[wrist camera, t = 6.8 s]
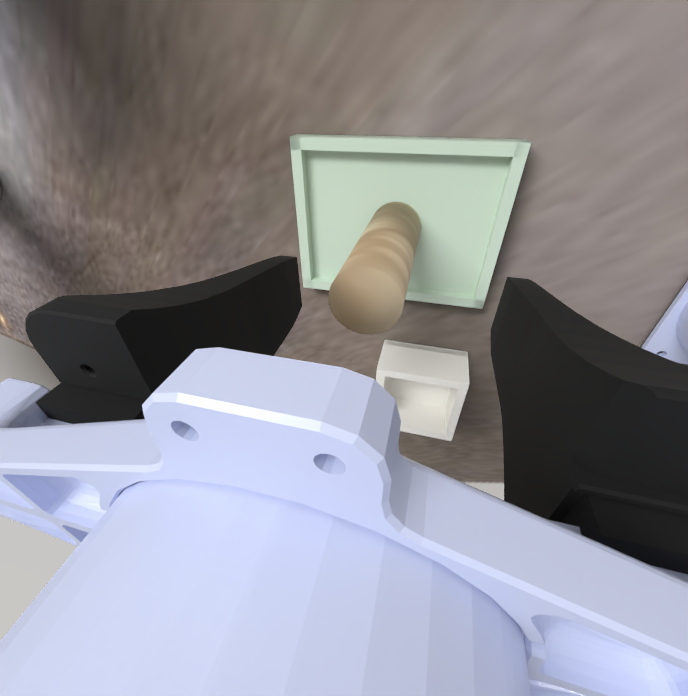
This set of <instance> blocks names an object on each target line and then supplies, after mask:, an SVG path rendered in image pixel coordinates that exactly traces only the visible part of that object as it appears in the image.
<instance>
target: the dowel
mask: <svg viewBox="0 0 688 696" xmlns="http://www.w3.org/2000/svg"><path fill="white" fill-rule="evenodd" d="M420 231H421V222H420V218H419V216H418V214H417V212H416V211H415V210H414V209H413V208H412V207H411V206H409V205H408V204H406V203H403V202H389V203H387V204H384V205H383V206H381V207H380V208H379V209H378V210H377V211H376V212H375V214H374V215H373V217H372V219H371V220H370V222H369V224H368V225H367V227H366V229H365V230H364V232H363V233H362V235H361V237H360V238H359V240H358V242H357V243H356V245H355V247H354V248H353V250H352V251H351V253H350V255H349V256H348V258H347V260H346V261H345V263H344V265H343V266H342V268H341V269H340V271H339V273H338V274H337V276H336V278H335V279H334V281H333V283H332V284H331V287H330V290H329V295H328V300H329V306H330V309H331V311H332V313H333V315H334V316H335V318H336V319H337V320H338V321H339V322H340V323H341V324H342V325H343V326H345V327H346V328H348V329H350V330H352V331H354V332H357V333H361V334H378V333H382V332H384V331H387V330H388V329H390V328H391V327H393V326H394V325H395V324H396V323H397V322H398V320H399V318H400V316H401V314H402V311H403V306H404V302H405V297H406V293H407V289H408V284H409V280H410V275H411V271H412V267H413V262H414V258H415V253H416V249H417V245H418V240H419V236H420Z"/></svg>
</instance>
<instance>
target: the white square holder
mask: <svg viewBox="0 0 688 696" xmlns="http://www.w3.org/2000/svg"><path fill="white" fill-rule="evenodd" d="M376 381H377V382H378V383H379V384H380V385H381V386H382V387H383V388H384V389H385V390H386V391H387V392H388V393H389V394H390V395H391V396H392V397H393V398H395V399H396V403H397V407H398V411H399V415H400V419H401V425H400V431H403V432H408V433H413V434H418V435H423V436H428V437H433V438H438V439H443V440H448V441H452V437H453V434H454V431H455V428H456V425H457V422H458V419H459V415H460V412H461V409H462V406H463V403H464V400H465V397H466V393H467V390H468V387H469V365H468V352H466V351H460V350H453V349H446V348H439V347H432V346H426V345H419V344H412V343H405V342H398V341H392V340H385V341H384V344H383V348H382V352H381V355H380V359H379V363H378V366H377V374H376Z"/></svg>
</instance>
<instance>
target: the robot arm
mask: <svg viewBox="0 0 688 696" xmlns="http://www.w3.org/2000/svg"><path fill="white" fill-rule="evenodd" d="M301 307H302V301H301V292H300V283H299V273H298V264H297V257H290V256H277V257H273V258H269V259H266V260H263V261H260V262H258V263H255V264H252V265H249V266H247V267H244V268H241V269H238V270H235V271H232V272H229V273H226V274H223V275H220V276H217V277H214V278H211V279H208V280H204V281H200V282H196V283H192V284H188V285H183V286H178V287H172V288H166V289H160V290H154V291H146V292H137V293H126V294H111V295H78V296H61V297H58V298H56V299H54V300H52V301H50V302H48V303H47V304H45V305H43V306H41V307H39V308H37V309H35V310H34V311H32V312H30V313H29V314H28V316H27V317H26V332H27V335H28V337H29V340H30V341H31V343H32V344H33V346H34V348H35V349H36V350H37V352H38V353H39V354H40V356H41V357H42V358H43V360H44V361H45V362H46V364H47V365H48V366H49V368H50V369H51V370H52V372H53V373H54V374H55V376H56V377H57V378H58V379H59V381H60V382H62V383H60V384H59V385H58V386H56V387H55V388H54V389H53V390H51V391H50V390H49V389H48V388H46V387H45V386H43V385H40V384H36V383H32V382H28V381H23V380H19V379H14V378H7V379H6V380H4V381H3V382H1V383H0V516H3V517H6V518H8V519H11V520H13V521H16V522H19V523H21V524H24V525H26V526H29V527H31V528H34V529H36V530H39V531H41V532H43V533H46V534H48V535H51V536H53V537H55V538H58V539H60V540H62V541H65V542H67V543H69V544H72V545H74V546H76V547H77V548H76V549H75V551H74V552H73V553H72V554H71V555H70V557H69V558H68V559H67V560H66V561H65V563H64V564H63V565H62V566H61V568H60V569H59V570H58V571H57V573H56V574H55V575H54V576H53V577H52V579H51V580H50V581H49V582H48V583H47V585H46V586H45V587H44V589H42V591H41V592H40V593H39V594H38V596H37V597H36V598H35V599H34V601H33V602H32V603H31V604H30V605H29V607H28V608H27V609H26V610H25V611H24V613H23V614H22V615H21V616H20V618H19V619H18V620H17V621H16V622H15V624H14V625H13V626H12V627H11V629H10V630H9V631H8V632H7V633H6V635H5V636H4V637H3V638H2V640H1V641H0V696H688V367H687V366H685V365H682V364H688V281H687V282H686V284H685V285H684V287H683V288H682V289H681V291H680V292H679V294H678V295H677V297H676V298H675V300H674V301H673V302H672V304H671V305H670V307H669V308H668V310H667V311H666V312H665V314H664V315H663V317H662V318H661V320H660V321H659V322H658V324H657V325H656V327H655V328H654V330H653V331H652V332H651V334H650V335H649V337H648V338H647V340H646V341H645V343H644V344H643V345H642V347H641V348H640V347H638V346H636V345H634V344H631V343H629V342H627V341H625V340H623V339H621V338H619V337H617V336H615V335H614V334H612V333H610V332H608V331H606V330H604V329H602V328H600V327H599V326H597V325H595V324H594V323H592V322H590V321H589V320H587V319H586V318H584V317H583V316H581V315H579V314H578V313H576V312H575V311H573V310H572V309H570V308H569V307H568V306H566V305H565V304H563V303H562V302H561V301H559V300H558V299H556V298H555V297H554V296H552V295H551V294H550V293H548V292H547V291H546V290H544V289H543V288H542V287H540V286H539V285H537V284H536V283H534V282H533V281H531V280H529V279H522V278H511V277H507V280H506V283H505V286H504V289H503V293H502V296H501V299H500V302H499V305H498V309H497V312H496V315H495V318H494V321H493V324H492V328H491V356H492V362H493V368H494V373H495V379H496V384H497V389H498V395H499V400H500V405H501V413H502V425H503V446H504V500H501V499H499V498H497V497H495V496H492V495H490V494H488V493H486V492H483V491H481V490H479V489H476V488H474V487H472V486H469V485H467V484H465V483H463V482H461V481H458V480H456V479H454V478H452V477H449V476H447V475H445V474H443V473H440V472H438V471H436V470H433V469H431V468H429V467H427V466H424V465H422V464H420V463H418V462H415V461H413V460H411V459H409V458H406V457H404V456H402V455H401V454H400V452H399V446H398V440H399V433H400V425H401V419H400V415H399V411H398V407H397V403H396V399H395V398H393V397H392V396H391V395H390V394H389V393H388V392H387V391H386V390H385V389H384V388H383V387H382V386H381V385H380V384H379V383H378V382H377V381H375V380H374V379H372V378H370V377H367V376H364V375H362V374H359V373H356V372H353V371H351V370H348V369H345V368H342V367H336V366H330V365H324V364H318V363H312V362H306V361H300V360H294V359H288V358H281V357H275V356H274V354H275V353H276V351H277V350H278V348H279V347H280V345H281V344H282V342H283V341H284V339H285V338H286V336H287V335H288V333H289V332H290V330H291V328H292V327H293V325H294V323H295V321H296V319H297V317H298V314H299V312H300V309H301ZM660 351H663V352H662V353H659V354H657V353H658V352H660ZM679 363H681V364H679Z"/></svg>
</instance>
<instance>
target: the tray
mask: <svg viewBox="0 0 688 696" xmlns="http://www.w3.org/2000/svg"><path fill="white" fill-rule="evenodd" d="M530 145H531V142H530V141H528V140H527V139H487V138H443V137H399V136H356V135H312V134H297V135H293V136H290V147H291V158H292V169H293V180H294V190H295V201H296V212H297V223H298V234H299V245H300V256H301V267H302V278H303V287H306V288H314V289H322V290H330V287H331V284H332V283H333V281H334V279H335V278H336V276H337V274H338V273H339V271H340V269H341V268H342V266H343V265H344V263H345V261H346V260H347V258H348V256H349V255H350V253H351V251H352V250H353V248H354V247H355V245H356V243H357V242H358V240H359V238H360V237H361V235H362V233H363V232H364V230H365V229H366V227H367V225H368V224H369V222H370V220H371V219H372V217H373V215H374V214H375V212H376V211H377V210H378V209H379V208H380V207H381V206H383V205H384V204H387V203H389V202H403V203H406V204H408V205H409V206H411V207H412V208H413V209H414V210H415V211H416V212H417V214H418V216H419V218H420V222H421V231H420V236H419V240H418V245H417V249H416V253H415V258H414V262H413V267H412V271H411V275H410V280H409V284H408V289H407V293H406V297H405V300H413V301H421V302H429V303H438V304H446V305H454V306H462V307H471V308H479V309H483V305H484V302H485V298H486V295H487V292H488V288H489V285H490V281H491V278H492V275H493V271H494V268H495V264H496V261H497V258H498V254H499V251H500V247H501V244H502V241H503V237H504V234H505V230H506V227H507V224H508V220H509V217H510V213H511V210H512V207H513V203H514V200H515V196H516V193H517V190H518V186H519V183H520V179H521V176H522V173H523V169H524V166H525V162H526V159H527V156H528V152H529V149H530Z"/></svg>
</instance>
